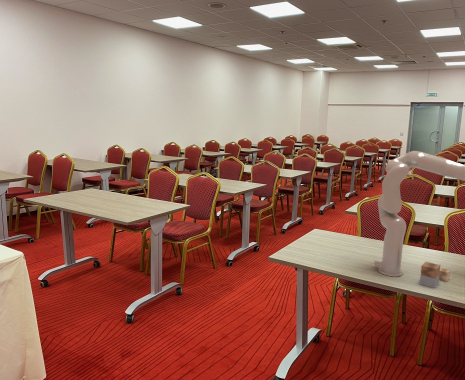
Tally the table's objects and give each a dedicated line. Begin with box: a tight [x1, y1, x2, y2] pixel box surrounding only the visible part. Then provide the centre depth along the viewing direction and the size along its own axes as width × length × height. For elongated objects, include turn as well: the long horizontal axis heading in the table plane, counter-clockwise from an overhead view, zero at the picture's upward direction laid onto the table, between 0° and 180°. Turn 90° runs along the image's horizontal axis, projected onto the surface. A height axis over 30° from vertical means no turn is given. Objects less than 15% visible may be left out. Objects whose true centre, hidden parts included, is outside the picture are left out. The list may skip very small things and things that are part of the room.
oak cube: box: [439, 267, 451, 282], centre depth 204 cm, size 5×5×5 cm
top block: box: [420, 261, 441, 279], centre depth 197 cm, size 7×7×5 cm
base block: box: [419, 274, 440, 289], centre depth 198 cm, size 7×7×5 cm
